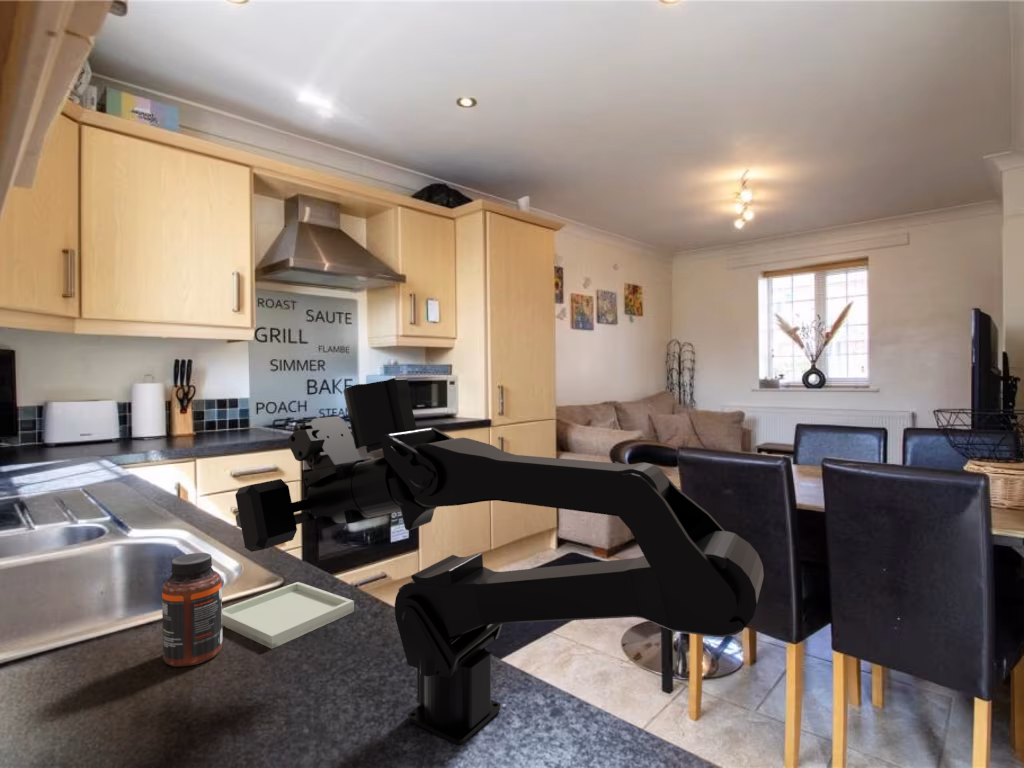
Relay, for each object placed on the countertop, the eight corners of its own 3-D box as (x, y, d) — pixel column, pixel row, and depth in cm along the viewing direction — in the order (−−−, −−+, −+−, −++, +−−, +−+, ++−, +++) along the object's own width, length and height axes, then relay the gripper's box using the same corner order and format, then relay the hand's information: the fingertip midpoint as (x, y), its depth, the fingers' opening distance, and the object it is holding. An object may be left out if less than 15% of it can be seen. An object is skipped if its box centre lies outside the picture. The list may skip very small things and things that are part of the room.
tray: (354, 611, 76) (353, 600, 76) (272, 648, 66) (271, 636, 66) (298, 591, 83) (297, 581, 83) (215, 622, 72) (215, 611, 72)
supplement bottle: (233, 644, 67) (232, 550, 67) (201, 671, 61) (200, 567, 61) (186, 641, 67) (185, 548, 67) (149, 667, 61) (148, 565, 61)
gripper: (412, 407, 67) (322, 435, 74) (280, 418, 50) (181, 453, 57) (433, 499, 65) (339, 519, 73) (305, 542, 49) (200, 562, 56)
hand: (273, 511), depth 65 cm, fingers open, 9 cm apart
